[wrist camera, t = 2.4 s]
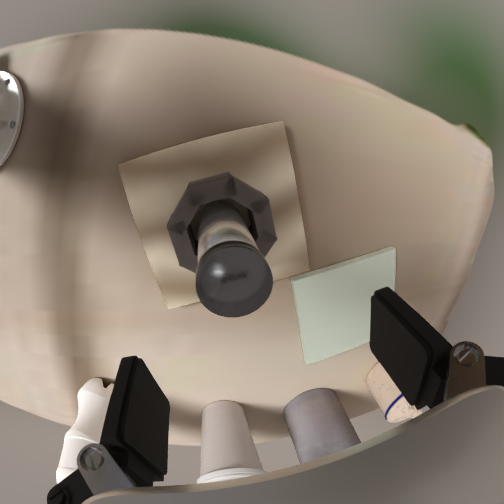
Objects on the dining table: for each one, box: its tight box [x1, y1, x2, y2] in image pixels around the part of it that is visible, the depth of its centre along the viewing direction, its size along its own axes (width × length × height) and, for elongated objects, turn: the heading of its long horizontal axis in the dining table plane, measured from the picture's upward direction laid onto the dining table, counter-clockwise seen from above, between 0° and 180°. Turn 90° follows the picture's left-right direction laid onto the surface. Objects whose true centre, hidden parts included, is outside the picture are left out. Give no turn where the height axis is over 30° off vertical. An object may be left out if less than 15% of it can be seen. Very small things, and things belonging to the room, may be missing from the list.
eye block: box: [117, 121, 310, 309], centre depth 26 cm, size 16×16×6 cm
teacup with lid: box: [366, 362, 422, 423], centre depth 38 cm, size 12×9×12 cm
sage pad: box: [290, 246, 396, 365], centre depth 35 cm, size 14×14×1 cm
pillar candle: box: [284, 388, 361, 464], centre depth 36 cm, size 10×10×15 cm
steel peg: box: [195, 200, 273, 317], centre depth 21 cm, size 4×4×13 cm
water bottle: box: [56, 378, 114, 484], centre depth 23 cm, size 7×7×25 cm
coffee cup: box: [197, 400, 267, 484], centre depth 33 cm, size 10×10×15 cm
